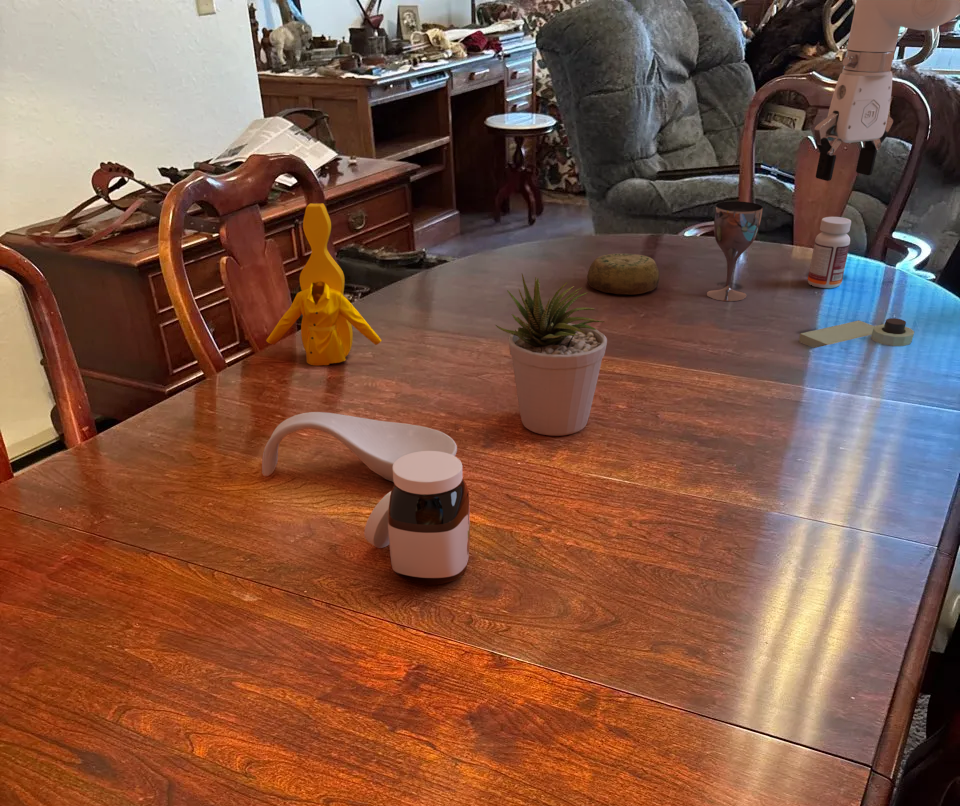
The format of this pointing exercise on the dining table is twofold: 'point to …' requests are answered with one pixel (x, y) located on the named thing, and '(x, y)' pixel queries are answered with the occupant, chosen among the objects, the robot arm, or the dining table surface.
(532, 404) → the potted plant
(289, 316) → the figure statuette
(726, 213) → the wine glass
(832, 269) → the pill bottle
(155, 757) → the dining table surface
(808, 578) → the dining table surface
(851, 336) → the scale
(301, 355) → the dining table surface
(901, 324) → the button
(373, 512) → the spread jar
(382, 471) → the spoon rest
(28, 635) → the dining table surface
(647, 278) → the cheese wheel
